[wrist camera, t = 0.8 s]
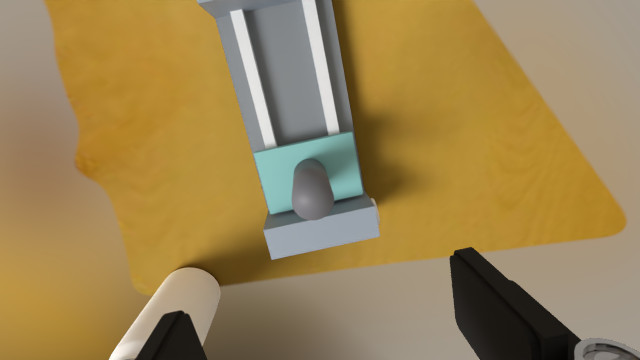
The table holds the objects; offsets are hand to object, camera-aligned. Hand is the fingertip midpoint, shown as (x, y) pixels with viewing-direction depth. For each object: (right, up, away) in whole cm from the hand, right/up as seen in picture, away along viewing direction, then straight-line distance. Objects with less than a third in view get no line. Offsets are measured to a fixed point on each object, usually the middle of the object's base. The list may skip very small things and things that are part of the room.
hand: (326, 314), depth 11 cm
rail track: (-2, +11, +19) cm, 22 cm away
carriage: (-1, +6, +18) cm, 19 cm away
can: (-15, -8, +24) cm, 29 cm away
